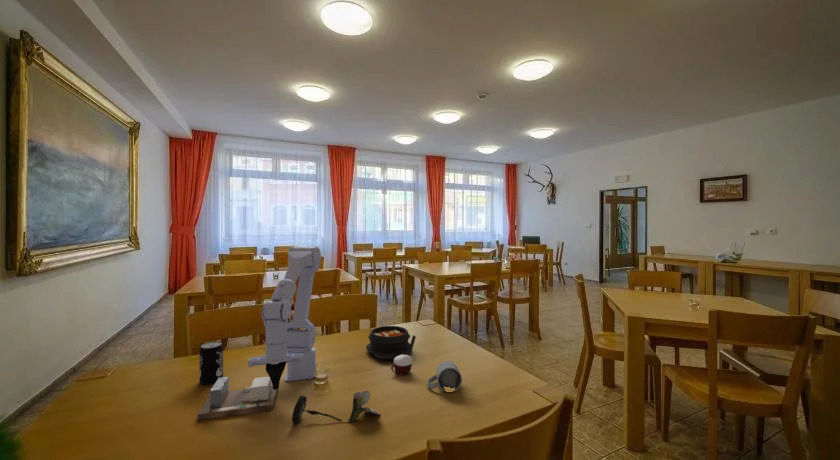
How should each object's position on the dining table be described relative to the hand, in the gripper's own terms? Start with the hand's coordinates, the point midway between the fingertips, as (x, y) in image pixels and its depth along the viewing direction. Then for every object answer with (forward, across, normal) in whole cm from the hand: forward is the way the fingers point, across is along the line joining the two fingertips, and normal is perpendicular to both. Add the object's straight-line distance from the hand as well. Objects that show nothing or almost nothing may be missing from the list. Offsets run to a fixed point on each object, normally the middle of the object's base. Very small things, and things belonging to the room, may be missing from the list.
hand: (276, 387), depth 99 cm
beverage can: (+4, -22, +18) cm, 29 cm away
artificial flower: (+4, +17, -14) cm, 23 cm away
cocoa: (+4, +40, +8) cm, 41 cm away
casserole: (+4, +39, +29) cm, 49 cm away
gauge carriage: (+2, -5, -1) cm, 6 cm away
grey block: (+2, -15, 0) cm, 15 cm away
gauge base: (+3, -9, 0) cm, 10 cm away
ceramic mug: (+4, +50, -6) cm, 51 cm away
